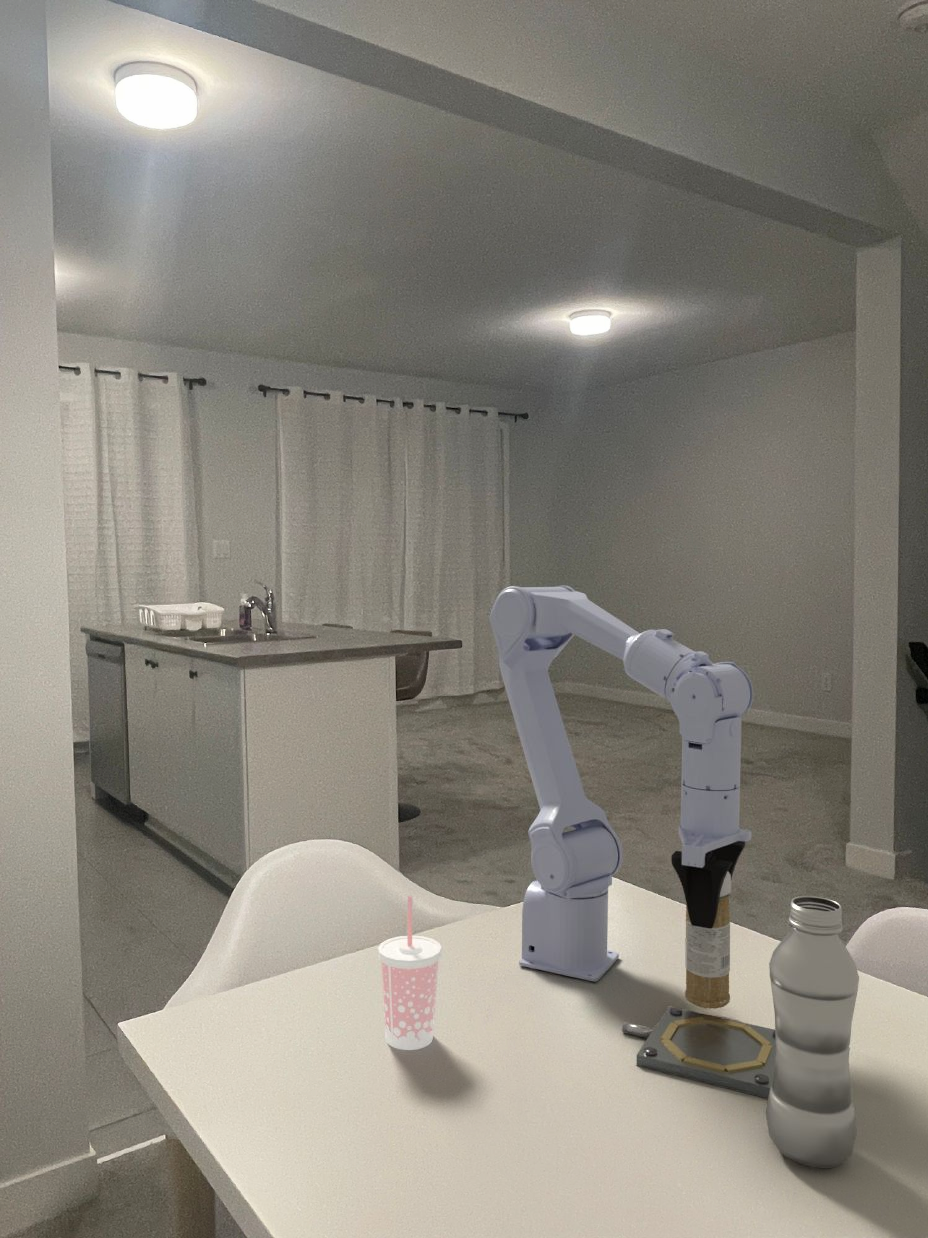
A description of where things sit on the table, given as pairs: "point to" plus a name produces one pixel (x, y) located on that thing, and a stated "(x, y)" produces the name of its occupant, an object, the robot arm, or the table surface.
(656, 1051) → the octagon fixture plate
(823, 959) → the plastic bottle
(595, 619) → the robot arm
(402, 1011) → the beverage cup
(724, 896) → the sprinkles bottle
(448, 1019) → the table surface
